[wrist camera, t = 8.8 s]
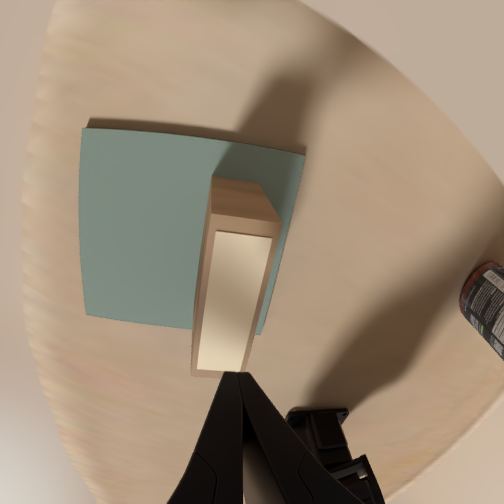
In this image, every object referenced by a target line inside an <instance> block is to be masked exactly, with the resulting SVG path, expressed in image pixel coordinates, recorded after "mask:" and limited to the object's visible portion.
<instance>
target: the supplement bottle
mask: <svg viewBox="0 0 504 504" xmlns="http://www.w3.org/2000/svg"><path fill="white" fill-rule="evenodd" d="M460 310H461V313H462V314H463V315H464V317H465V318H466V319H467V320H468V321H469V322H470V323H471V325H472V326H473V327H474V328H475V329H476V330H477V331H478V332H479V333H480V334H481V336H483V338H484V339H485V340H486V341H487V342H488V343H489V344H490V346H491V347H492V348H493V349H494V350H495V351H496V352H497V353H498V355H499V356H500V357H501V358H502V359H503V361H504V267H502V266H500V265H499V264H497V263H495V262H488V263H486V264H484V265H482V266H481V267H479V268H478V269H477V270H476V271H475V272H474V273H473V274H472V275H471V276H470V278H469V280H468V281H467V282H466V284H465V286H464V288H463V290H462V293H461V297H460Z"/></svg>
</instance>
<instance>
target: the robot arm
mask: <svg viewBox="0 0 504 504" xmlns="http://www.w3.org/2000/svg"><path fill="white" fill-rule="evenodd" d="M348 415H349V411H348V409H336V410H324V411H308V412H292V413H289V414H288V415H287V417H286V419H284V418H283V417H282V415H281V414H280V413H279V411H278V410H277V409H276V407H275V406H274V405H273V403H272V402H271V401H270V400H269V398H268V397H267V396H266V394H265V393H264V391H263V390H262V389H261V387H260V386H259V385H258V383H257V382H256V381H255V379H254V378H253V377H252V375H251V374H250V373H249V372H235V371H224V373H223V375H222V378H221V380H220V383H219V386H218V388H217V391H216V394H215V396H214V399H213V402H212V404H211V407H210V410H209V412H208V415H207V417H206V420H205V423H204V425H203V428H202V430H201V433H200V436H199V438H198V441H197V444H196V446H195V449H194V452H193V453H192V456H191V459H190V461H189V464H188V466H187V468H186V470H185V473H184V475H183V477H182V478H181V480H180V482H179V484H178V486H177V487H176V489H175V491H174V492H173V494H172V496H171V497H170V499H169V500H168V502H167V504H243V492H244V497H245V502H246V504H385V502H384V498H383V495H382V493H381V490H380V487H379V485H378V483H377V480H376V478H375V475H374V473H373V471H372V468H371V466H370V464H369V461H368V459H367V457H366V455H365V454H364V455H361V456H360V457H359V458H356V459H354V460H353V459H352V456H351V454H350V451H349V448H348V446H347V445H348V443H347V440H346V438H345V435H344V432H343V430H342V427H341V425H342V423H343V422H344V420H345V419H346V418H347V416H348ZM363 475H365V477H364V478H361V479H360V478H359V477H361V476H363Z"/></svg>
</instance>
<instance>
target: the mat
mask: <svg viewBox="0 0 504 504" xmlns="http://www.w3.org/2000/svg"><path fill="white" fill-rule="evenodd" d="M304 161H305V155H302V154H298V153H293V152H288V151H283V150H278V149H273V148H267V147H262V146H256V145H250V144H244V143H238V142H232V141H226V140H219V139H212V138H204V137H197V136H189V135H180V134H171V133H161V132H151V131H139V130H125V129H108V128H82V138H81V151H80V168H79V241H80V258H81V272H82V283H83V293H84V301H85V309H86V315H89V316H95V317H101V318H107V319H113V320H120V321H127V322H134V323H141V324H148V325H156V326H164V327H173V328H182V329H191V330H192V329H193V310H194V298H195V290H196V281H197V273H198V265H199V258H200V250H201V243H202V236H203V229H204V222H205V215H206V208H207V202H208V195H209V189H210V182H211V176H215V177H222V178H229V179H236V180H242V181H249V182H255V183H259V184H260V186H261V188H262V189H263V191H264V193H265V194H266V196H267V198H268V199H269V201H270V203H271V205H272V206H273V208H274V210H275V211H276V213H277V215H278V216H279V218H280V220H281V222H282V223H283V224H282V228H281V232H280V236H279V241H278V245H277V249H276V253H275V257H274V261H273V265H272V269H271V273H270V277H269V281H268V285H267V289H266V293H265V297H264V301H263V305H262V308H261V312H260V316H259V320H258V324H257V328H256V332H255V335H261V332H262V328H263V325H264V321H265V317H266V314H267V310H268V306H269V302H270V298H271V295H272V291H273V287H274V283H275V279H276V275H277V272H278V268H279V264H280V260H281V256H282V252H283V248H284V244H285V240H286V236H287V232H288V228H289V224H290V220H291V216H292V211H293V207H294V203H295V199H296V195H297V191H298V186H299V182H300V178H301V174H302V169H303V165H304Z"/></svg>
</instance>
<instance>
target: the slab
mask: <svg viewBox="0 0 504 504" xmlns="http://www.w3.org/2000/svg"><path fill="white" fill-rule="evenodd" d="M282 224H283V223H282V222H281V220H280V218H279V216H278V215H277V213H276V211H275V210H274V208H273V206H272V205H271V203H270V201H269V199H268V198H267V196H266V194H265V193H264V191H263V189H262V188H261V186H260V184H259V183H255V182H249V181H242V180H236V179H229V178H222V177H215V176H211V182H210V189H209V195H208V202H207V208H206V215H205V222H204V229H203V236H202V243H201V250H200V258H199V265H198V273H197V281H196V290H195V298H194V310H193V329H192V352H191V376H195V377H207V378H222V375H223V373H224V371H235V372H245V369H246V366H247V362H248V358H249V354H250V351H251V347H252V343H253V339H254V335H255V332H256V328H257V324H258V320H259V316H260V312H261V308H262V305H263V301H264V297H265V293H266V289H267V285H268V281H269V277H270V273H271V269H272V265H273V261H274V257H275V253H276V249H277V245H278V241H279V236H280V232H281V228H282Z"/></svg>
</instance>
